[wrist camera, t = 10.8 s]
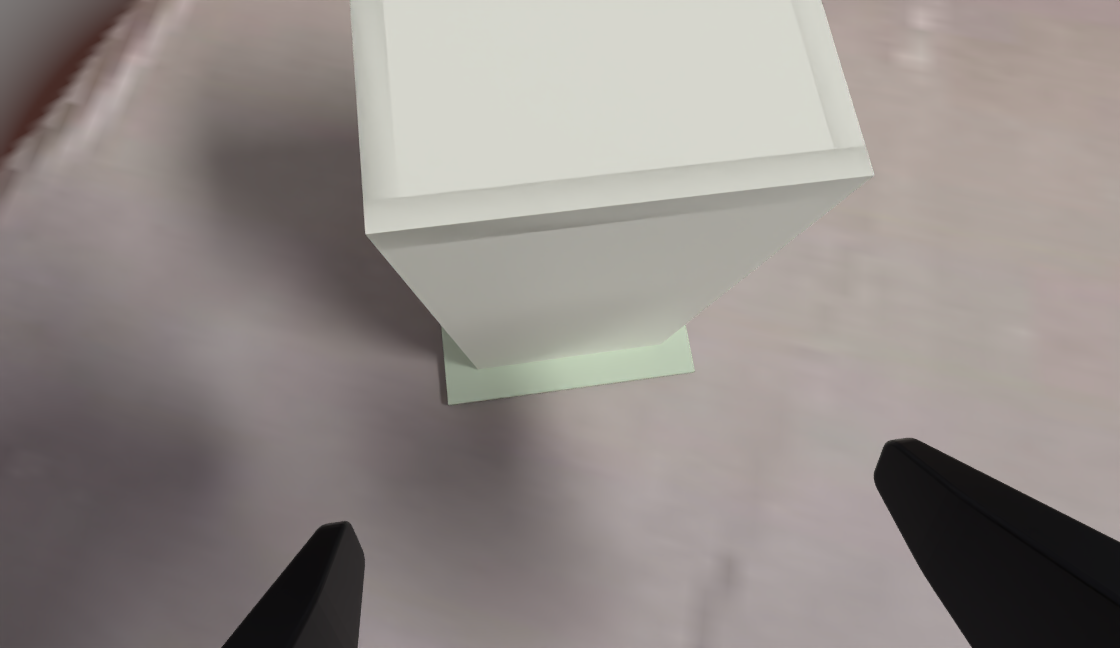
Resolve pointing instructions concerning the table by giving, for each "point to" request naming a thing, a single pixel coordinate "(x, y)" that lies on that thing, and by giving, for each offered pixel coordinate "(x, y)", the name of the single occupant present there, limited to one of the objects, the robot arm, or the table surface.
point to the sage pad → (562, 370)
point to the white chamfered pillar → (593, 159)
